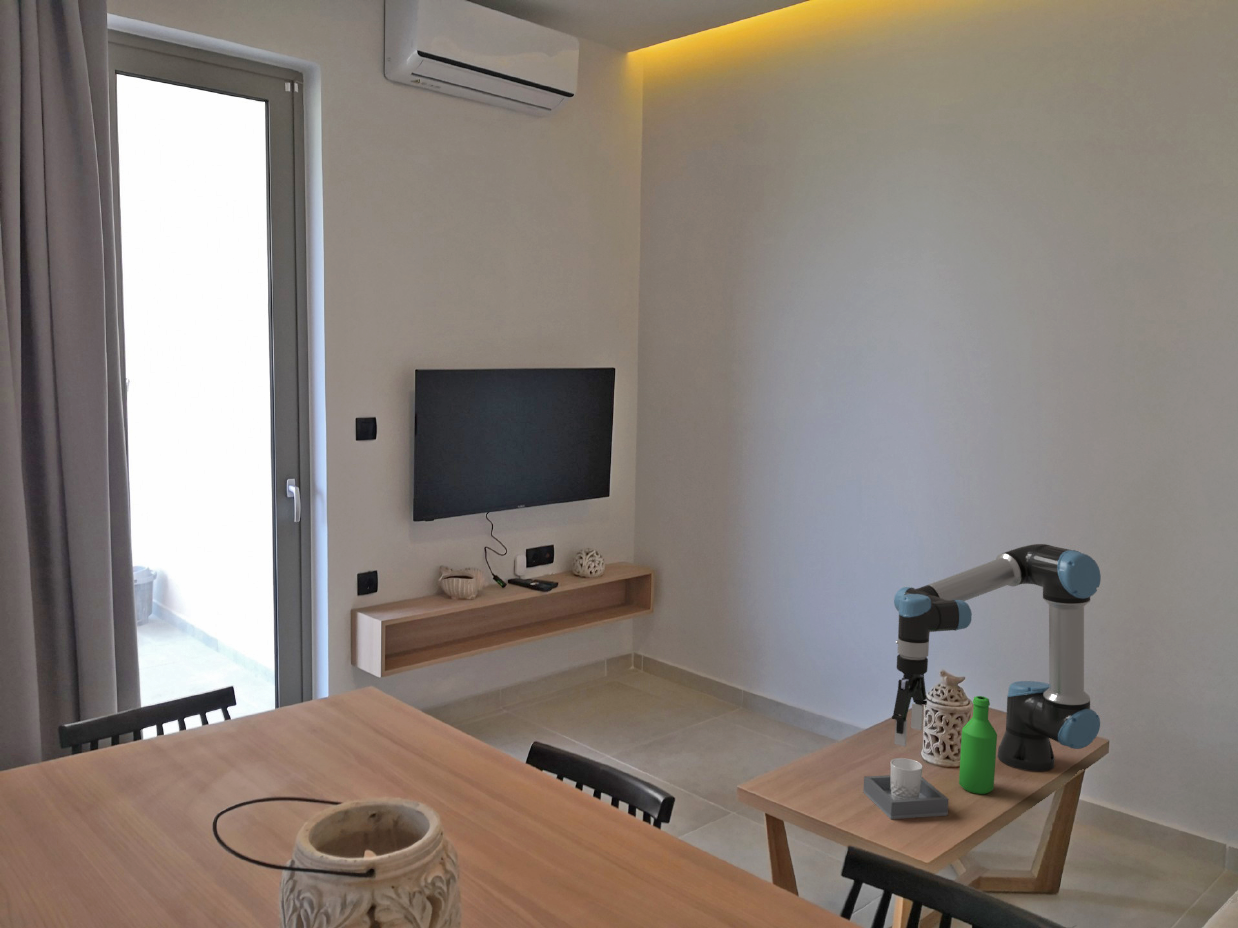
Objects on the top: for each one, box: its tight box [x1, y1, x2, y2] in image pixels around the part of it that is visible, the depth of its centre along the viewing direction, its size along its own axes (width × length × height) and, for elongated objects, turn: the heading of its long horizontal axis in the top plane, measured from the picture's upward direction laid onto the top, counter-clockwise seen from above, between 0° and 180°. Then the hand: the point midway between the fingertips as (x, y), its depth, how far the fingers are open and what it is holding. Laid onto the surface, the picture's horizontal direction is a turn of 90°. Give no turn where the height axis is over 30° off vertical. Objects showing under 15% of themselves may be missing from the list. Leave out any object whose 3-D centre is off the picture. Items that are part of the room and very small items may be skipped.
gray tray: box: [863, 774, 950, 820], centre depth 243 cm, size 15×15×4 cm
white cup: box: [889, 757, 924, 800], centre depth 242 cm, size 8×8×10 cm
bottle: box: [958, 695, 998, 795], centre depth 253 cm, size 9×9×25 cm
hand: (908, 736), depth 242 cm, fingers open, 13 cm apart
